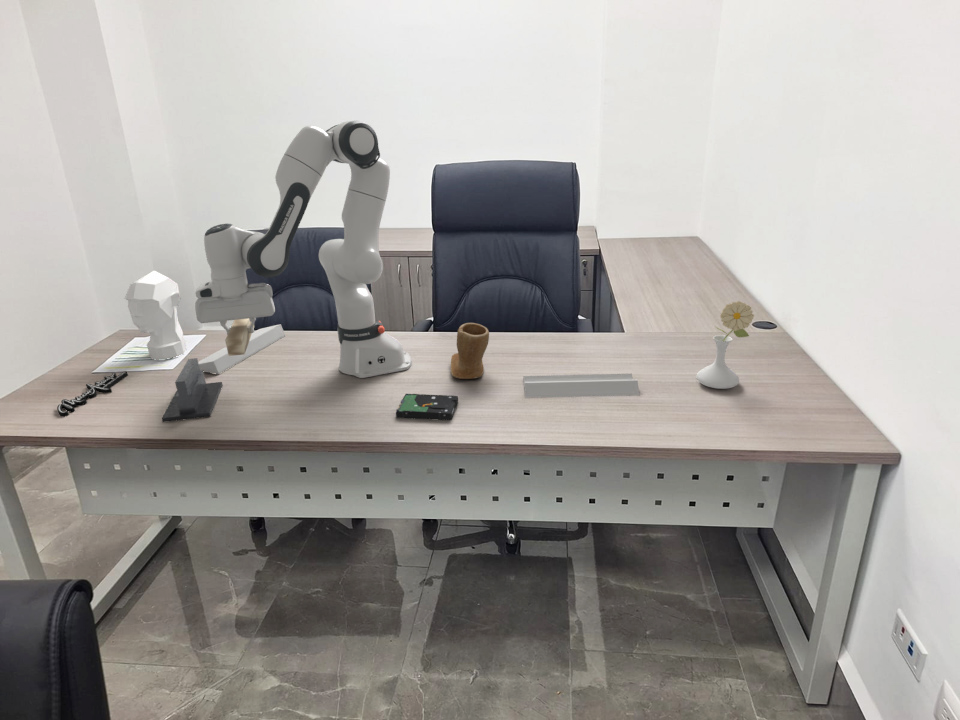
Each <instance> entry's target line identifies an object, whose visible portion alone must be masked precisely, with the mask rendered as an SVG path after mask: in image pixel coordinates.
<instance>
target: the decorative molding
mask: <svg viewBox="0 0 960 720" xmlns="http://www.w3.org/2000/svg"><path fill="white" fill-rule="evenodd" d="M284 337H286V334H285V331H284V329H283V326H282V324H276V325H275V324H274V325H270V326H267V327H262V328H259V329H257V330H254V333H252V335H251V337H250V340H249V343H248V346H247V349H246V352H245V354H243V355H234V356H229V355H228V351H227V346H225V347H223V348H221V349H219V350H217V351H215V352H213V353H212V354H209V355H208V356H206V357H204V358H202V359H200V360H199V361H198V364H199V369H200V371H204V372H203V373H209V372H210V374H211V373H216V374H219V375H221V374H222V373H221V372H223V371H224V372H226V371H227V370H226V369H228V368H230V367H231V368H233V367H234V366H233V365H235V364H236V365H238V364H240V363H241V361H242V360H243V361H244V359H245V360H246V358H247V359H248V358H250V357H252V356H254V355H256V354H257V353H259V352H260V351H262V350H264V349H266V348H267V347H269V346H271V344H274V343H276V342H277V340H278V341H279V340H281V339H282V338H284ZM275 341H276V342H275ZM265 347H266V348H265ZM263 348H264V349H263ZM253 354H254V355H253ZM251 355H252V356H251ZM243 361H242V362H243ZM239 362H240V363H239ZM237 363H238V364H237ZM236 365H235V366H236ZM232 366H233V367H232ZM231 368H230V369H231ZM225 370H226V371H225ZM228 370H229V369H228ZM224 372H223V373H224ZM220 373H221V374H220ZM216 374H215V375H216Z"/></svg>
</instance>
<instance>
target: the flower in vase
mask: <svg viewBox="0 0 960 720" xmlns="http://www.w3.org/2000/svg"><path fill="white" fill-rule="evenodd" d="M753 312H754V311H753V310H752V306H751V305H750V304H747V303H745V302H743V301H740V300H738V301H733V302H731V303H729V304H728V303H727V304H726V305H725V306H724V308H723V309H722V310H721V313H720V315H719V317H720V319H721V322H722V326H724V327H725V328H727V329H730V331H729V332H728V333H726V331H725V330H723V329H721V328H719V327H717V326H716V325H714V327H715V328H716V329H717V330H718V331H721V332H723V333H724V334H726V335H724V334H719V335H718V334H716V335H714V336H712V339H713V341H714V342H715V346H716V356H715V359H714V361H713V363H711V364H709V365H707V366H705V367H703V368H702V369H700V370H699V371H698V372H697V374H696V376H695V377H696V380H697V381H698V382H699V383H700V384H702V385H703V386H706V387H709V388H713V389H717V390H720V389H721V390H723V389H724V390H725V389H732V388H734V387H737V386H738V384H740V378H739V377H740V376H739V375H738V374H737V373H736V372H735V371H734V370H733V369H731V367H729V366H728V365H727V364H726V361H725V358H726V352H727V349H728V347H729V344H730V343H731V342H732V341H733V340H734V339H733V338H732V337H731V336H730V334H731V333H733V334H734V335H735V337H737V338H749V337H750V335H749V333H748V332H747V331H746V328H748V327H749V326H750V324H751V323H752V322H753V320H754V317H755V314H754V313H753Z"/></svg>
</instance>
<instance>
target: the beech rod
mask: <svg viewBox="0 0 960 720" xmlns="http://www.w3.org/2000/svg"><path fill="white" fill-rule="evenodd" d="M251 323H252V322H250V320H249V318H248V319H238V320H233V323H232V324H231V327H230V328H231V329H230V331H229V333H228V335H227V334H226V338H225V340H224V341H225V347H227V351H228V355H229V356H234V355H243V354H245V352H246V349H247V346H248V343H249V340H250V337H251V335H252V333H248V330H247V326H251ZM253 328H255V324H254V325H253Z"/></svg>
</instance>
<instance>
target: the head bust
mask: <svg viewBox="0 0 960 720" xmlns="http://www.w3.org/2000/svg"><path fill="white" fill-rule="evenodd" d="M179 289H180V288H179V283H177V282H176V281H174V280H173V279H171V278H170V277H168V276H166V275H164V274H162V273H161V272H158V271H156V270H152V271H151V272H148V273H147V274H145V275H143V276H142V277H140V278H139V279H136V280H135V281H133V282H132V283H130V284H129V286H128V289H127V291H126V294H125V297H124V299H125V300H126V301H127V308H128V311H129V314H130V317H131V320H132V324H133V325H134V326H136V328H138V330H139V332H140V333H142V334H145V333H149V334H150V335H149V336H150V337H149V340H148V342H147V343H146V346H147V350H148V354H149V357H150V359H152V360H153V359H156V360H155V361H157V360H159V359H167V358H172V357H176V356H179V355H181V354H183V353H184V352H185V350H186V351H187V346H186V341H185V337H184V331H183V329H182V326H181V324H180V322H179V320H178V311H177V310H178V309H177V308H178V307H179V305H180V302H181V300H182V298H181V296H180V290H179ZM185 353H186V352H185ZM185 353H184V354H185ZM184 354H183V355H184ZM181 356H182V355H181ZM179 357H180V356H179ZM172 359H173V358H172Z"/></svg>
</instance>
